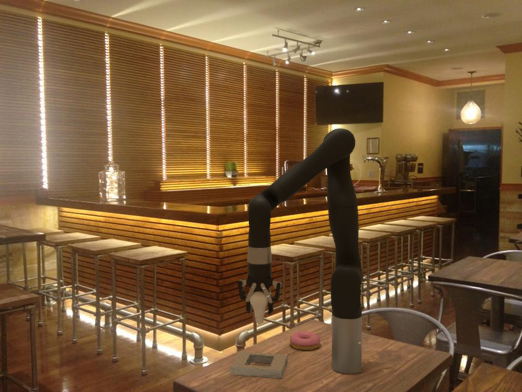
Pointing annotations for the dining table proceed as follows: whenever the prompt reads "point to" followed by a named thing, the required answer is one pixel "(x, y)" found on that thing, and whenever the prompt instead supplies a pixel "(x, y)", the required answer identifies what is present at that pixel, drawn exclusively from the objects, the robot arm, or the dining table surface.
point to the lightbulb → (259, 305)
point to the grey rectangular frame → (274, 371)
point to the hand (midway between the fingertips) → (259, 313)
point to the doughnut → (305, 340)
